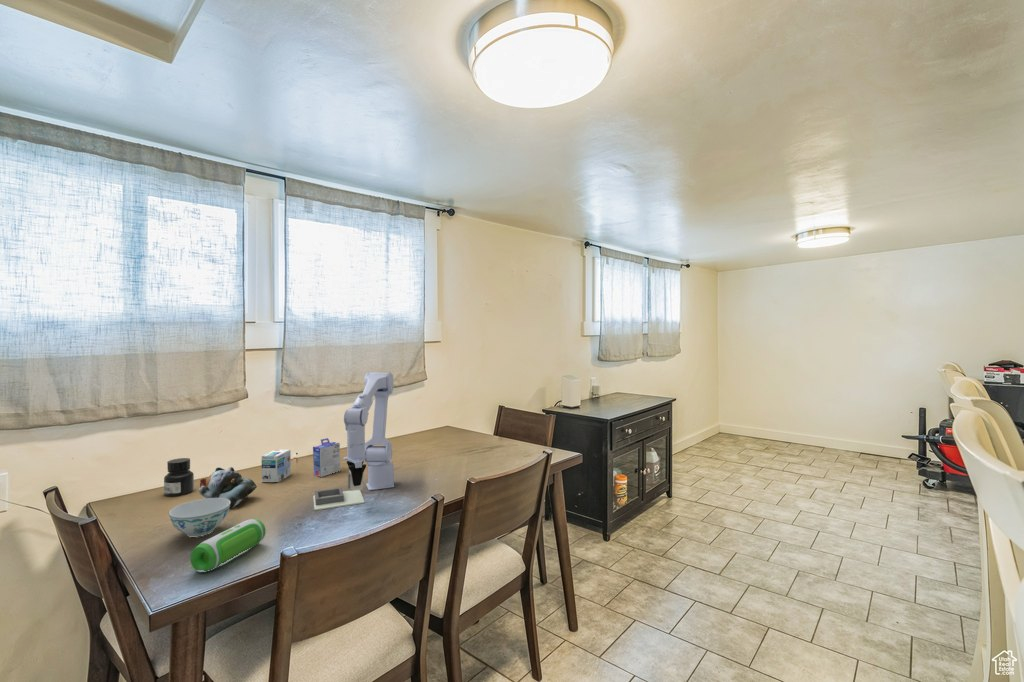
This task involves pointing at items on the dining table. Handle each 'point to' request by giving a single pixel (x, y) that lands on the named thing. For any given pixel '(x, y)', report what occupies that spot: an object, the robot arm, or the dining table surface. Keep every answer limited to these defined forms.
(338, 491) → the socket board
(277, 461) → the light bulb box
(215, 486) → the grey animal figurine
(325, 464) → the ink cartridge box
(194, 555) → the speaker
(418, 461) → the dining table surface
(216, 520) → the chinaware
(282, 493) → the dining table surface
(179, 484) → the ink bottle
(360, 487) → the plug
